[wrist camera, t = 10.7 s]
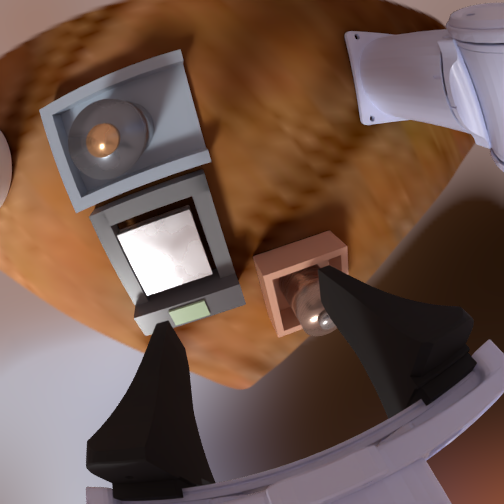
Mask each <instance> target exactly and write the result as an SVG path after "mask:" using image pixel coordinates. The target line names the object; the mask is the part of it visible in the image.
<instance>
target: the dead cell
mask: <svg viewBox="0 0 504 504" xmlns="http://www.w3.org/2000/svg"><path fill="white" fill-rule="evenodd" d="M318 269H320V267H319V265H318V264H315V265H312V266H310V267H307V268H304V269H301V270H299V271H296V272H293V273H290V274H287V275H285V276H282V277H279V288H280V290H281V292H282V293H283V295H284V297H285V299H286V300H287V302H288V304H289V305H290V307H291V309H292V310H293V312H294V314H295V316H296V317H297V319H298V321H299V322H300V324H301V326H302V328H303V329H304V331H305V332H306V333H307V334H309V335H312V336H321V335H325V334H328V333H330V332H332V331H334V330H335V329H336V328H337V327H336V325H335V324H334V323H333V321H332V320H331V319H330V317H329V315H328V314H327V312H326V310H325V308H324V306H323V304H322V303H321V298H320V287H319V277H318Z"/></svg>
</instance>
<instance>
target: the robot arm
mask: <svg viewBox="0 0 504 504" xmlns="http://www.w3.org/2000/svg"><path fill="white" fill-rule="evenodd" d="M446 28H447V29H442V30H430V31H420V32H412V33H405V34H398V35H392V34H384V33H373V32H360V31H348V32H346V33H345V35H344V36H345V41H346V45H347V49H348V54H349V58H350V63H351V68H352V73H353V78H354V84H355V89H356V95H357V101H358V108H359V114H360V120H361V122H362V124H364V125H372V124H379V123H386V122H394V121H403V120H416V121H421V122H426V123H430V124H435V125H439V126H443V127H447V128H451V129H455V130H459V131H463V132H466V133H470V134H471V135H472V136H473V137H474V139H475V142H476V144H477V145H480V146H483V147H486V148H489V149H490V153H491V156H492V159H493V161H494V162H495V164H496V165H497V166H498V167H499V168H500V169H501V170H502V171H503V172H504V3H485V4H478V5H473V6H468V7H465V8H462V9H459V10H457V11H455V12H453V13H452V14H451V15H450V18H449V21H448V22H447V24H446ZM355 35H356V36H357V39H356V38H355ZM370 116H372V120H371V121H370ZM318 277H319V287H320V298H321V303H322V304H323V306H324V308H325V310H326V312H327V314H328V315H329V317H330V319H331V320H332V321H333V323H334V324H335V325H336V327H337V328H338V330H339V331H340V332H341V334H342V335H343V336H344V338H345V339H346V340H347V342H348V343H349V344H350V346H351V347H352V348H353V350H354V351H355V353H356V354H357V356H358V357H359V359H360V361H361V363H362V364H363V366H364V368H365V370H366V372H367V374H368V375H369V377H370V379H371V381H372V383H373V385H374V387H375V389H376V391H377V393H378V396H379V398H380V400H381V402H382V404H383V407H384V409H385V411H386V414H387V415H388V420H386V421H384V422H382V423H381V424H379V425H377V426H375V427H373V428H371V429H369V430H367V431H365V432H363V433H361V434H360V435H357V436H355V437H353V438H351V439H349V440H347V441H345V442H343V443H340V444H338V445H336V446H334V447H331V448H329V449H327V450H324V451H322V452H319V453H317V454H314V455H312V456H309V457H307V458H304V459H301V460H299V461H296V462H293V463H290V464H287V465H284V466H281V467H278V468H275V469H271V470H268V471H264V472H261V473H258V474H254V475H250V476H246V477H242V478H238V479H234V480H229V481H224V482H219V483H215V481H214V478H213V475H212V473H211V470H210V468H209V465H208V462H207V459H206V456H205V453H204V450H203V446H202V443H201V439H200V436H199V432H198V428H197V424H196V420H195V416H194V411H193V403H192V393H191V383H190V372H189V365H188V360H187V355H186V351H185V348H184V346H183V344H182V343H181V341H180V339H179V338H178V336H177V334H176V332H175V331H174V329H173V327H172V326H171V324H170V322H169V320H167V321H164V322H160V323H157V324H156V326H155V328H154V331H153V333H152V336H151V339H150V341H149V344H148V347H147V349H146V352H145V354H144V357H143V359H142V362H141V364H140V366H139V368H138V370H137V373H136V375H135V377H134V379H133V381H132V383H131V385H130V387H129V389H128V390H127V392H126V394H125V395H124V397H123V398H122V400H121V401H120V403H119V405H118V406H117V407H116V409H115V410H114V412H113V413H112V414H111V416H110V417H109V418H108V419H107V421H106V422H105V423H104V424H103V425H102V426H101V428H100V429H99V430H98V431H97V432H96V433H95V434H94V435H93V436H92V437H91V438H90V439H89V440H88V441H87V456H86V467H87V469H88V470H89V471H90V472H91V473H93V474H94V475H96V476H98V477H100V478H102V479H104V480H107V481H109V482H111V483H112V485H113V489H111V488H104V487H86V500H87V501H86V502H87V504H451V502H450V500H449V499H448V497H447V496H446V494H445V492H444V490H443V488H442V487H441V485H440V483H439V482H438V480H437V479H436V477H435V475H434V474H433V472H432V470H431V469H430V467H429V465H428V464H427V462H426V460H427V459H429V458H430V457H432V456H433V455H435V454H436V453H437V452H439V451H440V450H441V449H442V448H444V447H445V446H446V445H448V444H449V443H450V442H451V441H453V440H454V439H455V438H456V437H457V436H459V435H460V434H461V433H462V432H463V431H465V430H466V429H467V428H468V427H469V426H470V425H471V424H472V423H474V422H475V421H476V420H477V419H478V418H479V417H480V416H481V415H482V414H483V413H484V412H485V411H486V410H487V409H488V408H490V406H492V405H493V404H494V402H495V401H496V400H497V399H498V398H499V397H500V396H501V395H502V393H503V392H504V354H503V353H502V352H501V351H500V350H499V348H498V347H497V346H496V345H495V344H494V343H493V342H492V341H491V340H488V341H487V342H485V343H484V344H483V345H482V346H481V347H480V348H479V349H478V350H477V351H476V352H475V353H474V354H473V355H472V356H471V355H470V354H469V353H468V352H469V347H468V346H467V345H466V342H467V339H468V337H469V335H470V333H471V331H472V328H473V322H474V321H473V318H472V317H471V316H470V315H469V314H468V313H466V312H465V311H464V310H463V309H462V308H461V307H455V306H441V305H433V304H427V303H422V302H417V301H413V300H409V299H405V298H401V297H398V296H395V295H392V294H389V293H387V292H384V291H381V290H379V289H377V288H374V287H371V286H370V285H367V284H365V283H363V282H361V281H359V280H357V279H355V278H353V277H351V276H349V275H347V274H346V273H344V272H342V271H340V270H338V269H336V268H334V267H332V266H330V265H328V266H325V267H322V268H320V269H318ZM378 444H379V445H378ZM376 445H378V446H376ZM263 490H264V491H263ZM259 491H261V492H259ZM255 492H258V493H255ZM251 493H255V494H252V495H247V494H251Z"/></svg>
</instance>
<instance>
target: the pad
mask: <svg viewBox="0 0 504 504" xmlns="http://www.w3.org/2000/svg"><path fill="white" fill-rule="evenodd" d="M117 236H118V239H119V241H120V243H121V245H122V247H123V249H124V251H125V253H126V255H127V257H128V259H129V261H130V263H131V265H132V267H133V269H134V271H135V273H136V275H137V277H138V279H139V281H140V283H141V285H142V287H143V288H144V290H145V292H146V294H147V296H148V295H151V294H154V293H157V292H160V291H163V290H166V289H169V288H172V287H175V286H178V285H181V284H184V283H187V282H190V281H193V280H196V279H199V278H202V277H205V276H208V275H211V274H213V273H212V269H211V266H210V263H209V260H208V258H207V255H206V252H205V249H204V247H203V244H202V241H201V238H200V235H199V232H198V230H197V227H196V224H195V221H194V218H193V215H192V212H191V209H190V206H189V205H186V206H183V207H180V208H178V209H175V210H172V211H169V212H166V213H163V214H160V215H158V216H155V217H152V218H149V219H147V220H144V221H141V222H139V223H136V224H133V225H131V226H128V227H125V228H123V229H120V230H119V233H118V235H117Z"/></svg>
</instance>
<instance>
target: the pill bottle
mask: <svg viewBox="0 0 504 504" xmlns="http://www.w3.org/2000/svg"><path fill="white" fill-rule="evenodd" d="M11 177H12V160H11V154H10V149H9V146H8V143H7V141H6V139H5V137H4V135H3V133H2V132H1V131H0V207H1V205H2V204H3V202H4V201H5V199H6V196H7V194H8V191H9V188H10V183H11Z"/></svg>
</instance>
